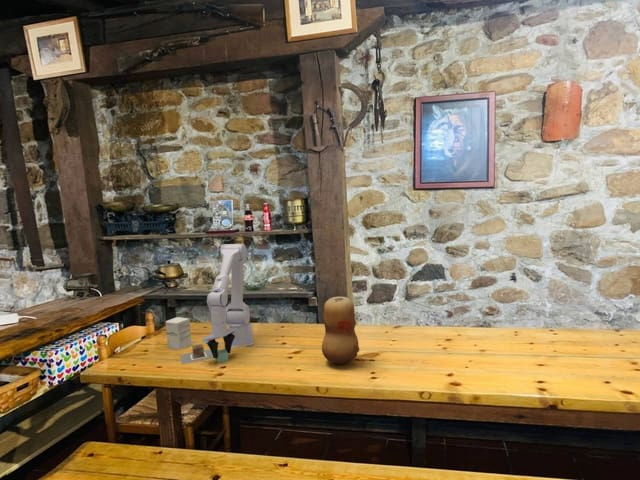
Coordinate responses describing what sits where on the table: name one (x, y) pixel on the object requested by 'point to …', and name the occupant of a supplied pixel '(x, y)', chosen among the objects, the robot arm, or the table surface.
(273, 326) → the table surface
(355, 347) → the butternut squash
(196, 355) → the walnut block
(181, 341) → the supplement box
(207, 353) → the slate board
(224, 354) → the teal block
